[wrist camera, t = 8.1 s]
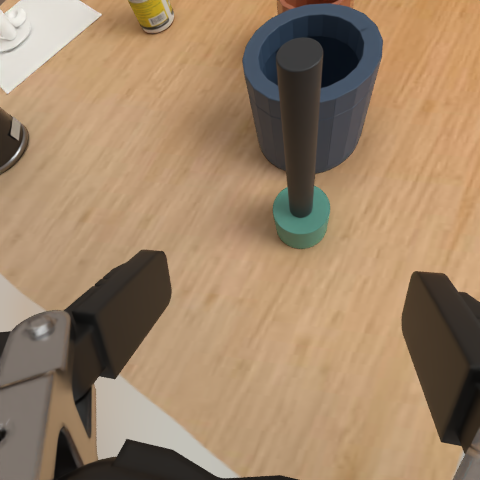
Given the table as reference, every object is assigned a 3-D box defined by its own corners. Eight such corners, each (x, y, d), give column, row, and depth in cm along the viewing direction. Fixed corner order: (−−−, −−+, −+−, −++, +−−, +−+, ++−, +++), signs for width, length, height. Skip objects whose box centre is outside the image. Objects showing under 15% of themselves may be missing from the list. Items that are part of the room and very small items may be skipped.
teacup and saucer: (24, 12, 55) (3, -13, 51) (44, 27, 52) (24, 2, 48) (-15, 43, 53) (-38, 20, 50) (4, 60, 50) (-20, 37, 47)
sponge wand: (302, 259, 29) (301, 119, 12) (266, 226, 31) (219, 64, 14) (337, 224, 30) (387, 40, 12) (300, 194, 32) (297, -2, 14)
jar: (310, 193, 31) (313, 128, 22) (239, 138, 36) (216, 63, 26) (382, 124, 33) (414, 35, 23) (305, 78, 37) (306, -13, 28)
